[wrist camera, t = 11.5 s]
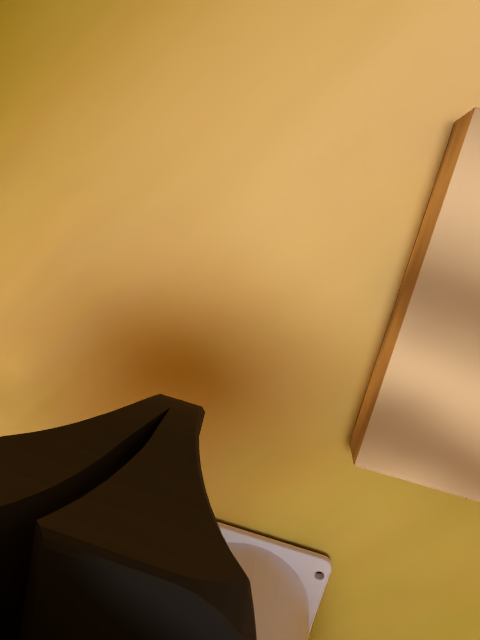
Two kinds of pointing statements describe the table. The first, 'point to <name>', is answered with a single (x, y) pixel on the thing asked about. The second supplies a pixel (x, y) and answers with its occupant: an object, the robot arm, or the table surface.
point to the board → (433, 342)
